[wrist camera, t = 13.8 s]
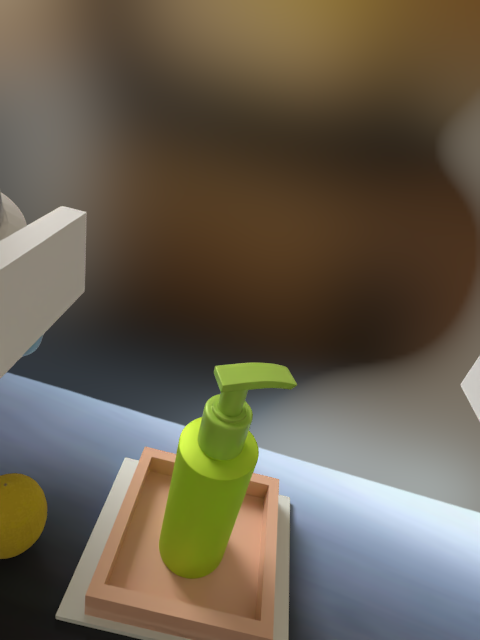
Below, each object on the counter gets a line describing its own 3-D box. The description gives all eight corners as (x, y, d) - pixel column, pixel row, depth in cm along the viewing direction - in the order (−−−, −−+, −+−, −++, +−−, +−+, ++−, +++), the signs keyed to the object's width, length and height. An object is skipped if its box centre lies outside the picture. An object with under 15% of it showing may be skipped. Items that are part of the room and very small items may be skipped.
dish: (84, 614, 32) (85, 595, 30) (142, 465, 44) (144, 446, 42) (262, 656, 32) (272, 639, 30) (271, 497, 44) (279, 479, 42)
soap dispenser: (243, 568, 36) (313, 400, 26) (164, 586, 34) (206, 408, 23) (225, 507, 41) (278, 343, 30) (154, 518, 38) (185, 345, 28)
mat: (55, 619, 31) (55, 615, 31) (124, 461, 44) (125, 457, 44) (285, 673, 32) (288, 670, 31) (288, 500, 45) (289, 497, 44)
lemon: (57, 554, 35) (56, 497, 31) (-18, 592, 32) (-30, 534, 28) (37, 502, 39) (33, 444, 34) (-33, 532, 35) (-47, 472, 31)
